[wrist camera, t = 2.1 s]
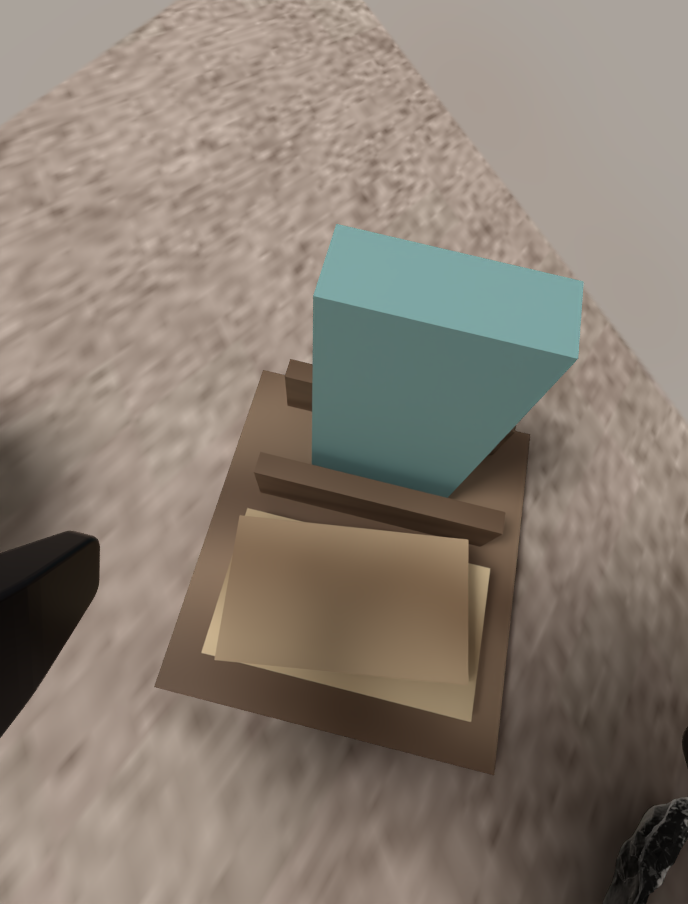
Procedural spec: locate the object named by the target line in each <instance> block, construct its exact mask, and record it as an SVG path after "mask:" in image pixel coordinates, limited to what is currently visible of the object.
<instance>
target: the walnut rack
mask: <svg viewBox="0 0 688 904" xmlns="http://www.w3.org/2000/svg"><path fill="white" fill-rule="evenodd" d="M312 380H313V364H309V363H304V362H300V361H296V360H292V359H290V362H289V365H288V368H287V371H286V374H285V375H281V374H277V373H273V372H269V371H265V370H263V372H262V375H261V378H260V381H259V384H258V387H257V390H256V393H255V395H254V398H253V401H252V404H251V407H250V410H249V413H248V416H247V419H246V422H245V424H244V427H243V430H242V433H241V436H240V439H239V442H238V445H237V448H236V451H235V454H234V456H233V459H232V462H231V465H230V468H229V471H228V474H227V477H226V480H225V483H224V486H223V488H222V491H221V494H220V497H219V500H218V503H217V506H216V509H215V512H214V515H213V518H212V520H211V523H210V526H209V529H208V532H207V535H206V538H205V541H204V544H203V547H202V549H201V552H200V555H199V558H198V561H197V564H196V567H195V570H194V573H193V576H192V579H191V581H190V584H189V587H188V590H187V593H186V596H185V599H184V602H183V605H182V608H181V611H180V613H179V616H178V619H177V622H176V625H175V628H174V631H173V634H172V637H171V640H170V643H169V645H168V648H167V651H166V654H165V657H164V660H163V663H162V666H161V669H160V672H159V675H158V677H157V680H156V683H155V686H154V687H156V688H160V689H164V690H168V691H172V692H176V693H180V694H183V695H187V696H191V697H195V698H199V699H203V700H206V701H210V702H214V703H218V704H222V705H226V706H230V707H233V708H237V709H241V710H245V711H249V712H253V713H257V714H260V715H264V716H268V717H272V718H276V719H280V720H283V721H287V722H291V723H295V724H299V725H303V726H307V727H310V728H314V729H318V730H322V731H326V732H330V733H333V734H337V735H341V736H345V737H349V738H353V739H357V740H360V741H364V742H368V743H372V744H376V745H380V746H383V747H387V748H391V749H395V750H399V751H403V752H407V753H410V754H414V755H418V756H422V757H426V758H430V759H434V760H437V761H441V762H445V763H449V764H453V765H457V766H460V767H464V768H468V769H472V770H476V771H480V772H484V773H487V774H491V775H494V771H495V762H496V752H497V743H498V733H499V724H500V714H501V705H502V695H503V686H504V677H505V667H506V658H507V648H508V639H509V629H510V620H511V611H512V601H513V592H514V582H515V573H516V563H517V554H518V544H519V535H520V526H521V516H522V507H523V497H524V488H525V478H526V469H527V460H528V450H529V441H530V434H526V433H521V432H517V431H515V428H516V425H515V426H514V428H513V429H512V430H511V431H510V432H509V433H508V434H507V435H506V436H505V437H504V438H503V439H502V440H501V441H500V442H499V444H498V445H497V446H496V447H495V448H494V449H493V450H492V451H491V452H490V453H489V454H488V455H487V456H486V457H485V458H484V460H483V461H482V462H481V463H480V464H479V465H478V466H477V467H476V468H475V469H474V470H473V471H472V472H471V473H470V474H469V475H468V477H467V478H466V479H465V480H464V481H463V482H462V483H461V484H460V485H459V486H458V487H457V488H456V489H455V490H454V491H453V493H452V494H451V495H450V496H449V497H448V498H446V497H442V496H438V495H433V494H429V493H425V492H421V491H417V490H413V489H409V488H405V487H401V486H397V485H393V484H389V483H385V482H381V481H377V480H373V479H368V478H364V477H360V476H356V475H352V474H348V473H344V472H340V471H336V470H332V469H328V468H324V467H320V466H316V465H312ZM247 508H249V509H253V510H257V511H261V512H265V513H269V514H273V515H277V516H281V517H286V518H290V519H294V520H298V521H302V522H308V523H317V524H326V525H336V526H345V527H354V528H364V529H373V530H383V531H392V532H401V533H411V534H420V535H429V536H439V537H448V538H457V539H467V540H468V563H470V564H474V565H478V566H482V567H486V568H490V575H489V583H488V591H487V599H486V607H485V615H484V623H483V631H482V639H481V647H480V655H479V663H478V671H477V679H476V687H475V695H474V703H473V711H472V719H471V722H468V721H465V720H461V719H457V718H453V717H449V716H445V715H441V714H437V713H433V712H430V711H426V710H422V709H418V708H414V707H410V706H406V705H402V704H399V703H395V702H391V701H387V700H383V699H379V698H375V697H371V696H367V695H364V694H360V693H356V692H352V691H348V690H344V689H340V688H336V687H332V686H329V685H325V684H321V683H317V682H313V681H309V680H305V679H301V678H298V677H294V676H290V675H286V674H282V673H278V672H274V671H270V670H266V669H263V668H259V667H255V666H251V665H247V664H243V663H239V662H229V661H219V660H214V659H215V656H212V655H208V654H204V653H201V652H202V649H203V646H204V642H205V639H206V636H207V633H208V630H209V627H210V624H211V620H212V617H213V614H214V611H215V608H216V605H217V602H218V599H219V595H220V592H221V589H222V586H223V583H224V580H225V577H226V573H227V570H228V567H229V564H230V561H231V558H232V555H233V550H234V544H235V539H236V533H237V527H238V521H239V516H240V515H242V516H245V514H246V511H247Z"/></svg>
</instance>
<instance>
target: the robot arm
mask: <svg viewBox="0 0 688 904" xmlns="http://www.w3.org/2000/svg"><path fill="white" fill-rule="evenodd" d="M99 570H100V545H99V541H98V539H97V538H96V537H94V536H91V535H88V534H84V533H80V532H76V531H66V532H62V533H59V534H56V535H53V536H50V537H47V538H44V539H41V540H38V541H35V542H32V543H29V544H26V545H23V546H21V547H18V548H15V549H12V550H9V551H6V552H3V553H0V738H1V737H2V735H3V734H4V733H5V731H6V730H7V729H8V727H9V726H10V725H11V723H12V722H13V721H14V720H15V718H16V717H17V716H18V714H19V713H20V712H21V710H22V709H23V708H24V706H25V705H26V704H27V702H28V701H29V700H30V698H31V697H32V695H33V694H34V693H35V691H36V690H37V688H38V687H39V685H40V683H41V682H42V680H43V679H44V677H45V676H46V674H47V673H48V671H49V669H50V668H51V666H52V665H53V663H54V661H55V660H56V658H57V657H58V655H59V653H60V652H61V650H62V648H63V647H64V645H65V644H66V642H67V640H68V639H69V637H70V636H71V634H72V632H73V631H74V629H75V628H76V626H77V624H78V623H79V621H80V620H81V618H82V616H83V615H84V613H85V611H86V610H87V608H88V607H89V605H90V603H91V602H92V600H93V598H94V597H95V595H96V592H97V589H98V586H99ZM682 748H683V753H684V756H685V760H686V763H687V767H688V727H687V728H686V730H685V731H684V734H683V739H682Z"/></svg>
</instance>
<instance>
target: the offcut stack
mask: <svg viewBox="0 0 688 904" xmlns="http://www.w3.org/2000/svg"><path fill="white" fill-rule="evenodd" d="M489 575H490V568H486V567H482V566H478V565H474V564H470V563H468V540H467V539H457V538H448V537H439V536H429V535H420V534H411V533H401V532H392V531H383V530H373V529H364V528H354V527H345V526H336V525H326V524H317V523H308V522H302V521H298V520H294V519H290V518H286V517H281V516H277V515H273V514H269V513H265V512H261V511H257V510H253V509H249V508H247V511H246V514H245V516H242V515H240V516H239V521H238V527H237V533H236V539H235V544H234V550H233V555H232V558H231V561H230V564H229V567H228V570H227V573H226V577H225V580H224V583H223V586H222V589H221V592H220V595H219V599H218V602H217V605H216V608H215V611H214V614H213V617H212V620H211V624H210V627H209V630H208V633H207V636H206V639H205V642H204V646H203V649H202V652H201V653H204V654H208V655H212V656H215V659H214V660H219V661H229V662H239V663H243V664H247V665H251V666H255V667H259V668H263V669H266V670H270V671H274V672H278V673H282V674H286V675H290V676H294V677H298V678H301V679H305V680H309V681H313V682H317V683H321V684H325V685H329V686H332V687H336V688H340V689H344V690H348V691H352V692H356V693H360V694H364V695H367V696H371V697H375V698H379V699H383V700H387V701H391V702H395V703H399V704H402V705H406V706H410V707H414V708H418V709H422V710H426V711H430V712H433V713H437V714H441V715H445V716H449V717H453V718H457V719H461V720H465V721H468V722H471V719H472V711H473V703H474V695H475V687H476V679H477V671H478V663H479V655H480V647H481V639H482V631H483V623H484V615H485V607H486V599H487V591H488V583H489Z"/></svg>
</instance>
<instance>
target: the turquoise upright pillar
mask: <svg viewBox="0 0 688 904" xmlns="http://www.w3.org/2000/svg"><path fill="white" fill-rule="evenodd" d="M583 283H584V282H583V281H579V280H575V279H571V278H566V277H562V276H558V275H553V274H549V273H545V272H541V271H536V270H532V269H528V268H523V267H519V266H515V265H511V264H506V263H502V262H498V261H493V260H489V259H485V258H480V257H476V256H472V255H468V254H463V253H459V252H455V251H450V250H446V249H442V248H438V247H433V246H429V245H425V244H420V243H416V242H412V241H408V240H403V239H399V238H395V237H390V236H386V235H382V234H378V233H373V232H369V231H365V230H360V229H356V228H352V227H347V226H343V225H339V224H336V227H335V230H334V233H333V236H332V239H331V242H330V246H329V249H328V252H327V255H326V258H325V261H324V264H323V267H322V271H321V274H320V277H319V280H318V283H317V286H316V289H315V292H314V295H313V380H312V465H316V466H320V467H324V468H328V469H332V470H336V471H340V472H344V473H348V474H352V475H356V476H360V477H364V478H368V479H373V480H377V481H381V482H385V483H389V484H393V485H397V486H401V487H405V488H409V489H413V490H417V491H421V492H425V493H429V494H433V495H438V496H442V497H446V498H448V497H449V496H450V495H451V494H452V493H453V491H454V490H455V489H456V488H457V487H458V486H459V485H460V484H461V483H462V482H463V481H464V480H465V479H466V478H467V477H468V475H469V474H470V473H471V472H472V471H473V470H474V469H475V468H476V467H477V466H478V465H479V464H480V463H481V462H482V461H483V460H484V458H485V457H486V456H487V455H488V454H489V453H490V452H491V451H492V450H493V449H494V448H495V447H496V446H497V445H498V444H499V442H500V441H501V440H502V439H503V438H504V437H505V436H506V435H507V434H508V433H509V432H510V431H511V430H512V429H513V428H514V426H515V425H516V424H517V423H518V422H519V421H520V420H521V419H522V418H523V417H524V416H525V415H526V414H527V413H528V412H529V411H530V409H531V408H532V407H533V406H534V405H535V404H536V403H537V402H538V401H539V400H540V399H541V398H542V397H543V396H544V395H545V393H546V392H547V391H548V390H549V389H550V388H551V387H552V386H553V385H554V384H555V383H556V382H557V381H558V380H559V379H560V377H561V376H562V375H563V374H564V373H565V372H566V371H567V370H568V369H569V368H570V367H571V366H572V365H573V364H574V363H575V361H576V360H577V359H578V353H579V339H580V325H581V311H582V297H583Z"/></svg>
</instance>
